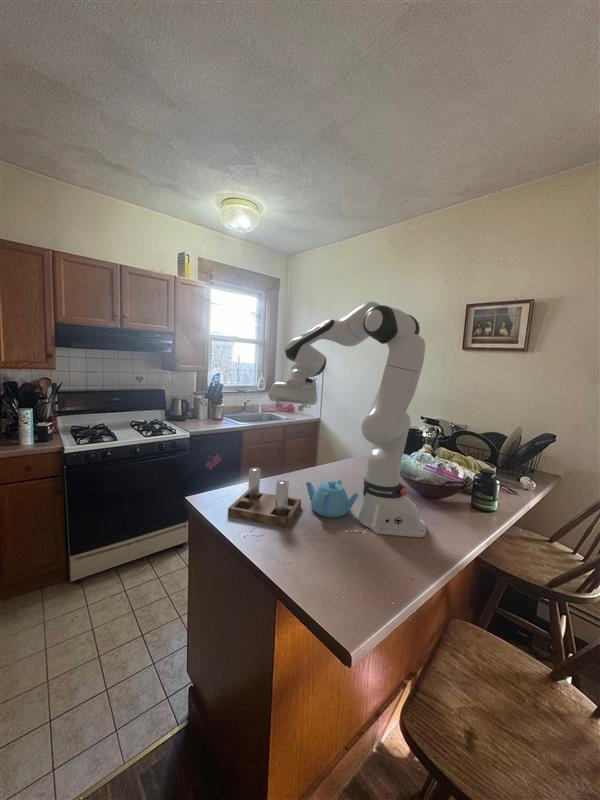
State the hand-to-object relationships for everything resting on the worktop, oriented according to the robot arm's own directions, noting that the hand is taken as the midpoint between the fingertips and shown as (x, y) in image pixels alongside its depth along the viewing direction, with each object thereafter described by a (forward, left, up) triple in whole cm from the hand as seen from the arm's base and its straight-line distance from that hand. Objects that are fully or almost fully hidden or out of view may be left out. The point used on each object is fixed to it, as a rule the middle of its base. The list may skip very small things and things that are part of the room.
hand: (288, 409), depth 128 cm
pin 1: (+6, +17, -33) cm, 38 cm away
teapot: (-21, +11, -34) cm, 41 cm away
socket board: (0, +21, -33) cm, 40 cm away
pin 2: (-7, +25, -33) cm, 42 cm away
